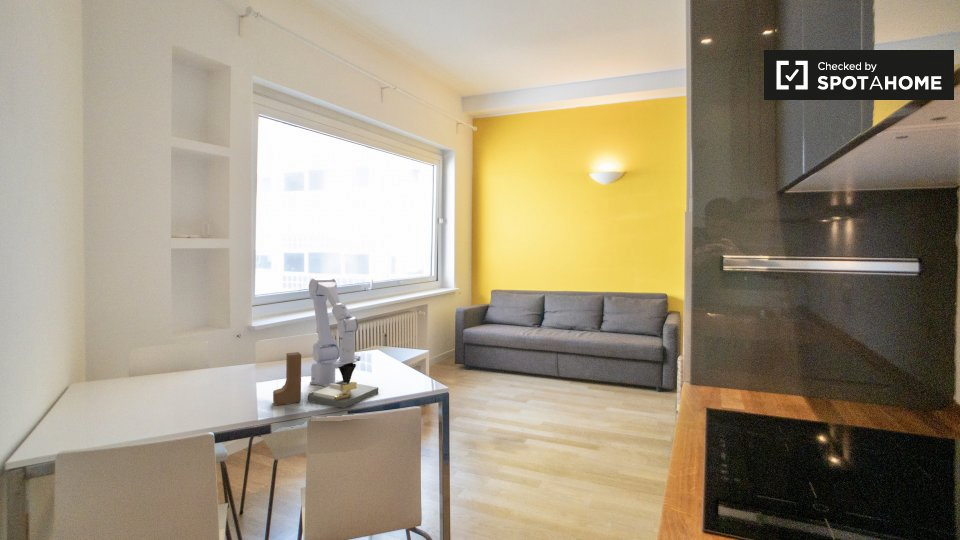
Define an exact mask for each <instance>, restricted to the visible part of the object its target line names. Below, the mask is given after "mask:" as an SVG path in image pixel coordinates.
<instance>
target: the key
mask: <svg viewBox="0 0 960 540" xmlns="http://www.w3.org/2000/svg"><path fill="white" fill-rule="evenodd" d="M357 384H358V383H357V381H352V382H351V381H350V383H346V384H341V386H340V391H341V392H344V391H347V393H346V394H342V395H338V396H334V399H335V400H339V399H343V398H350V390H353V389H357Z"/></svg>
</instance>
